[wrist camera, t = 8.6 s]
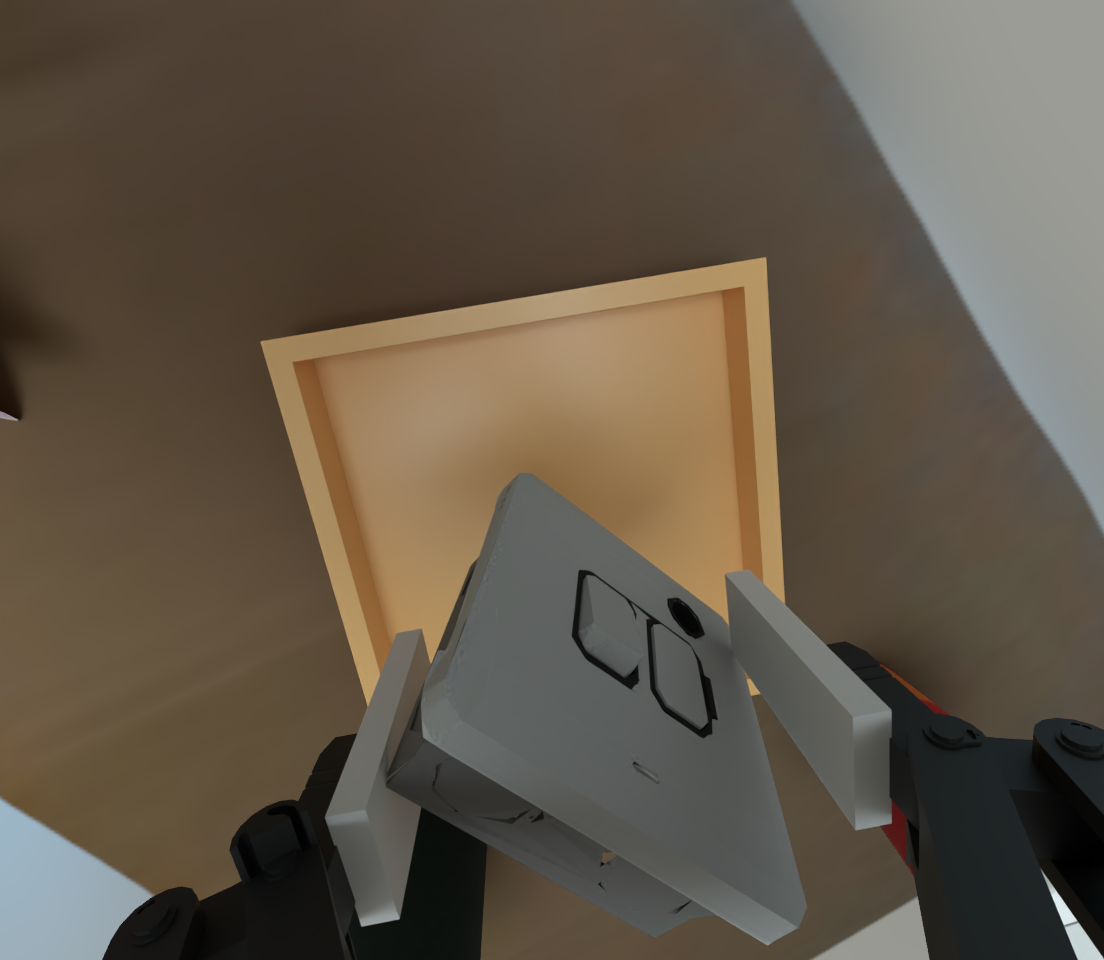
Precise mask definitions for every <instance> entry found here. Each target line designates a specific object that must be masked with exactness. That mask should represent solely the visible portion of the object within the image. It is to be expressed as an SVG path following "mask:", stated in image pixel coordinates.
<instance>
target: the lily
mask: <svg viewBox="0 0 1104 960" xmlns="http://www.w3.org/2000/svg"><path fill="white" fill-rule="evenodd" d="M0 418H3V419H9V420H17V421H19V420H18V419H16V418H14V417H12V416H10V415H8V414H5V413H3V412H1V411H0Z"/></svg>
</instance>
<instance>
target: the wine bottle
mask: <svg viewBox="0 0 1104 960" xmlns="http://www.w3.org/2000/svg"><path fill="white" fill-rule="evenodd" d="M454 810H455V809H454ZM455 811H456V812H458V811H457V810H455ZM486 852H487V844H486V843H484V842H483V841H481V840H479V839H477V838H476V837H474V836H472V835H470V834H468V833H467V832H465V831H463V830H461V829H460V828H458V827H456V826H454V825H452V824H451V823H449V822H447V821H445V820H444V819H442V818H440V817H438V816H436V815H435V814H433V813H431V812H429V811H428V810H426V809H424V808H422V807H421V811H420V816H419V821H418V827H417V832H416V837H415V842H414V847H413V852H412V858H411V863H410V868H409V873H408V878H407V883H406V889H405V894H404V899H403V904H402V909H401V914H400V919H398V920H393V921H388V922H383V923H378V924H373V925H368V926H361V923H360V920H359V917H358V914H357V911H356V909H355V906H354V910H353V913H352V917H351V921H350V924H349V928H348V931H349V933H350V936H351V939H352V942H353V946H354V950H355V954H356V958H357V960H480V957H481V939H482V922H483V905H484V887H485V870H486Z"/></svg>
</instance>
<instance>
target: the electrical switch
mask: <svg viewBox="0 0 1104 960" xmlns="http://www.w3.org/2000/svg"><path fill="white" fill-rule="evenodd" d="M409 760H410V761H409ZM408 761H409V762H408ZM407 762H408V763H407ZM405 763H407V764H406V765H405V766H403V765H404V764H405ZM402 766H403V767H402ZM400 767H402V768H401V769H400V770H399V771H398V772H397V773H396V774H395V775H393V776H392V777H391V778H390V779H389V780H388V781H387V784H386V787H387V788H389V789H390V790H392V791H394V792H396V793H397V794H399V795H401V796H403V797H404V798H406V799H408V800H410V801H412V802H413V803H415V804H417V805H419V806H420V807H422V808H424V809H426V810H428V811H429V812H431V813H433V814H435V815H436V816H438V817H440V818H442V819H444V820H445V821H447V822H449V823H451V824H452V825H454V826H456V827H458V828H460V829H461V830H463V831H465V832H467V833H468V834H470V835H472V836H474V837H476V838H477V839H479V840H481V841H483V842H484V843H486V844H488V845H490V846H491V847H493V848H495V849H497V850H499V851H500V852H502V853H504V854H506V855H507V856H509V857H511V858H513V859H515V860H516V861H518V862H520V863H522V864H523V865H525V866H527V867H529V868H531V869H532V870H534V871H536V872H538V873H539V874H541V875H543V876H545V877H547V878H548V879H550V880H552V881H554V882H555V883H557V884H559V885H561V886H563V887H564V888H566V889H568V890H570V891H571V892H573V893H575V894H577V895H578V896H580V897H582V898H584V899H586V900H587V901H589V902H591V903H593V904H594V905H596V906H598V907H600V908H602V909H603V910H605V911H607V912H609V913H610V914H612V915H614V916H616V917H618V918H619V919H621V920H623V921H625V922H626V923H628V924H630V925H632V926H634V927H635V928H637V929H639V930H641V931H642V932H644V933H646V934H648V935H649V936H651V937H653V938H656V937H657V936H659V935H661V934H663V933H665V932H667V931H669V930H671V929H673V928H674V927H676V926H678V925H680V924H682V923H684V922H686V921H688V920H689V919H691V918H697V917H706V916H713V915H715V914H716V915H718V916H720V917H721V918H723V919H725V920H726V921H728V922H729V923H731V924H733V925H734V926H736V927H738V928H739V929H741V930H743V931H744V932H746V933H748V934H749V935H751V936H753V937H754V938H756V939H758V940H759V941H761V942H763V943H764V944H766V945H769V944H770V943H772V942H773V941H775V940H777V939H779V938H780V937H782V936H784V935H786V934H788V933H790V932H792V931H793V930H795V929H797V928H799V925H800V923H801V921H802V918H803V916H804V913H805V911H806V909H807V905H806V901H805V897H804V893H803V890H802V886H801V882H800V878H799V875H798V871H797V867H796V863H795V859H794V856H793V852H792V848H791V844H790V841H789V837H788V833H787V829H786V826H785V822H784V818H783V814H782V810H781V807H780V803H779V799H778V795H777V792H776V788H775V784H774V780H773V777H772V773H771V769H770V765H769V761H768V758H767V754H766V750H765V746H764V743H763V739H762V735H761V731H760V727H759V724H758V720H757V716H756V712H755V709H754V705H753V701H752V697H751V694H750V690H749V686H748V682H747V678H746V675H745V671H744V669H743V667H742V666H741V665H740V663H739V662H738V660H737V659H736V657H735V656H734V654H733V652H732V650H731V641H730V629H729V626H728V624H727V623H726V622H725V620H724V619H723V617H722V616H720V615H719V614H718V613H717V612H715V611H714V610H713V609H711V608H710V607H709V606H707V605H706V604H705V603H703V602H702V601H701V600H699V599H698V598H697V597H695V596H694V595H693V594H692V593H690V592H689V591H688V590H686V589H685V588H684V587H682V586H681V585H680V584H678V583H677V582H676V581H674V580H673V579H672V578H670V577H669V576H668V575H666V574H665V573H664V572H662V571H661V570H660V569H658V568H657V567H656V566H654V565H653V564H652V563H651V562H649V561H648V560H647V559H645V558H644V557H643V556H641V555H640V554H639V553H637V552H636V551H635V550H633V549H632V548H631V547H629V546H628V545H627V544H625V543H624V542H623V541H621V540H620V539H619V538H617V537H616V536H615V535H614V534H612V533H611V532H610V531H608V530H607V529H606V528H604V527H603V526H602V525H600V524H599V523H598V522H596V521H595V520H594V519H592V518H591V517H590V516H588V515H587V514H586V513H584V512H583V511H582V510H580V509H579V508H578V507H577V506H575V505H574V504H573V503H571V502H570V501H569V500H567V499H566V498H565V497H563V496H562V495H561V494H559V493H558V492H557V491H555V490H554V489H553V488H551V487H550V486H549V485H547V484H546V483H545V482H543V481H542V480H541V479H539V478H538V477H536V476H535V475H533V474H532V473H519V474H518V475H517V476H516V477H515V478H514V479H513V480H512V481H511V482H510V483H509V484H508V485H507V486H506V487H505V488H504V489H503V490H502V492H501V493H500V495H499V496H498V499H497V502H496V506H495V512H494V514H493V517H492V519H491V522H490V525H489V528H488V531H487V534H486V537H485V540H484V543H483V546H482V549H481V552H480V555H479V557H478V558H477V559H476V560H475V561H474V563H473V564H472V565H471V566H470V568H469V571H468V573H467V576H466V578H465V581H464V583H463V586H462V588H461V591H460V593H459V596H458V598H457V601H456V603H455V606H454V608H453V611H452V613H451V616H450V618H449V621H448V623H447V626H446V628H445V631H444V633H443V636H442V638H441V641H440V643H439V646H438V648H437V651H436V653H435V656H434V658H433V661H432V663H431V666H430V668H429V671H428V673H427V676H426V678H425V681H424V683H423V686H422V688H421V691H420V693H419V696H418V698H417V701H416V703H415V706H414V708H413V711H412V713H411V716H410V718H409V721H408V723H407V726H406V728H405V731H404V733H403V736H402V738H401V741H400V743H399V746H398V748H397V751H396V753H395V756H394V758H393V761H392V763H391V766H390V768H389V771H388V774H387V777H386V778H388V777H389V776H390V775H391V774H393V773H394V772H395V771H396V770H398V769H399V768H400ZM435 770H436V774H435V780H434V781H433V779H434V773H435ZM454 809H455V810H457V811H458V812H456V811H455V810H454ZM517 815H518V817H517V818H515V817H514V816H517ZM602 852H614V853H615V854H617V856H616V857H614V858H613V859H612V860H610V861H609V862H607V863H606V864H604V863H602V862H601V859H602ZM601 883H602V886H601ZM629 908H632V909H631V910H630V909H629Z"/></svg>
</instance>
